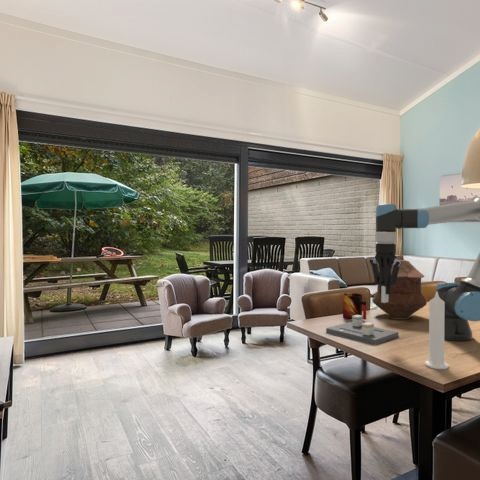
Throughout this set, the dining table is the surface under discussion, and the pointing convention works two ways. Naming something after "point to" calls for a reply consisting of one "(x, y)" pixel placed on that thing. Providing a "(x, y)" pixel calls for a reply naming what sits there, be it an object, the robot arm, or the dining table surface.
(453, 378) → the dining table surface
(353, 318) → the fader
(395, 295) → the pottery vessel
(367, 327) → the fader
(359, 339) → the console
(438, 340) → the candle
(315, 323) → the dining table surface
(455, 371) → the dining table surface
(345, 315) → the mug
